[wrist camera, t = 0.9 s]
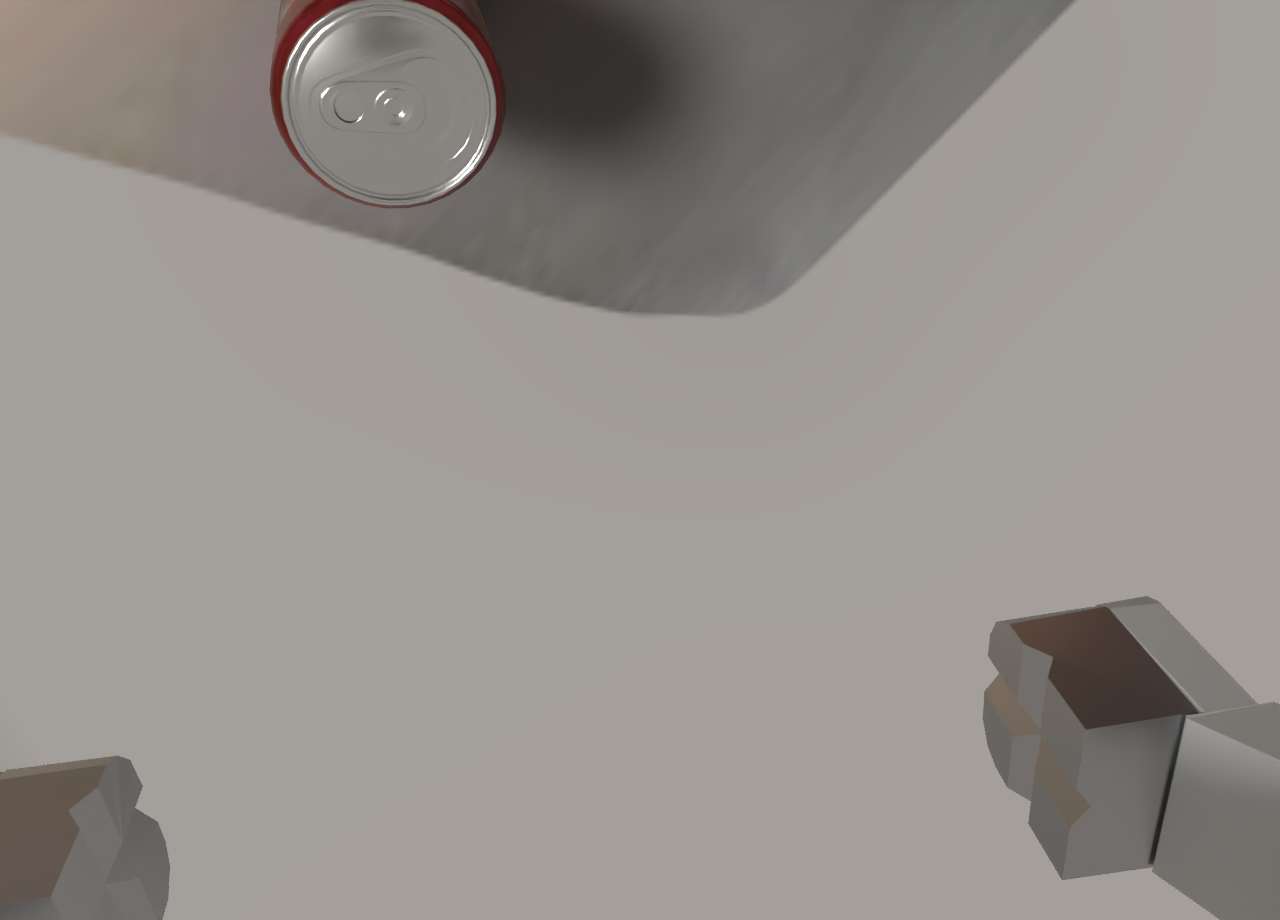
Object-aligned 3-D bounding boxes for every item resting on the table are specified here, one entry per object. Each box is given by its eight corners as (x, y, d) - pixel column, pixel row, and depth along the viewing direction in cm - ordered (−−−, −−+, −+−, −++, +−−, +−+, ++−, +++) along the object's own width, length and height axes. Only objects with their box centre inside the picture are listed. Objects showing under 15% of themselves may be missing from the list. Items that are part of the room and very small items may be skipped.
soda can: (479, -88, 41) (519, 1, 32) (465, 98, 46) (496, 223, 37) (281, -116, 39) (264, -30, 30) (286, 81, 44) (271, 208, 35)
